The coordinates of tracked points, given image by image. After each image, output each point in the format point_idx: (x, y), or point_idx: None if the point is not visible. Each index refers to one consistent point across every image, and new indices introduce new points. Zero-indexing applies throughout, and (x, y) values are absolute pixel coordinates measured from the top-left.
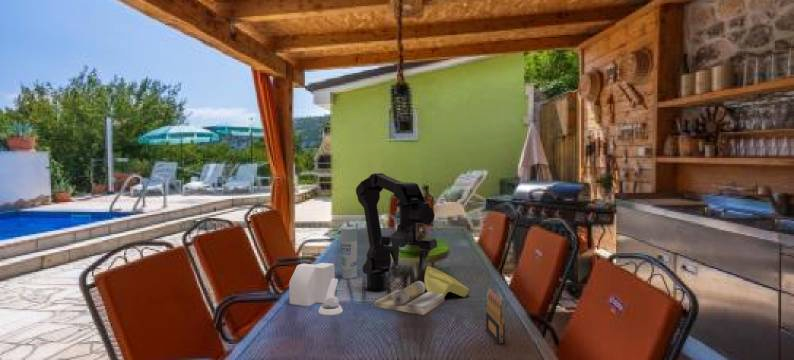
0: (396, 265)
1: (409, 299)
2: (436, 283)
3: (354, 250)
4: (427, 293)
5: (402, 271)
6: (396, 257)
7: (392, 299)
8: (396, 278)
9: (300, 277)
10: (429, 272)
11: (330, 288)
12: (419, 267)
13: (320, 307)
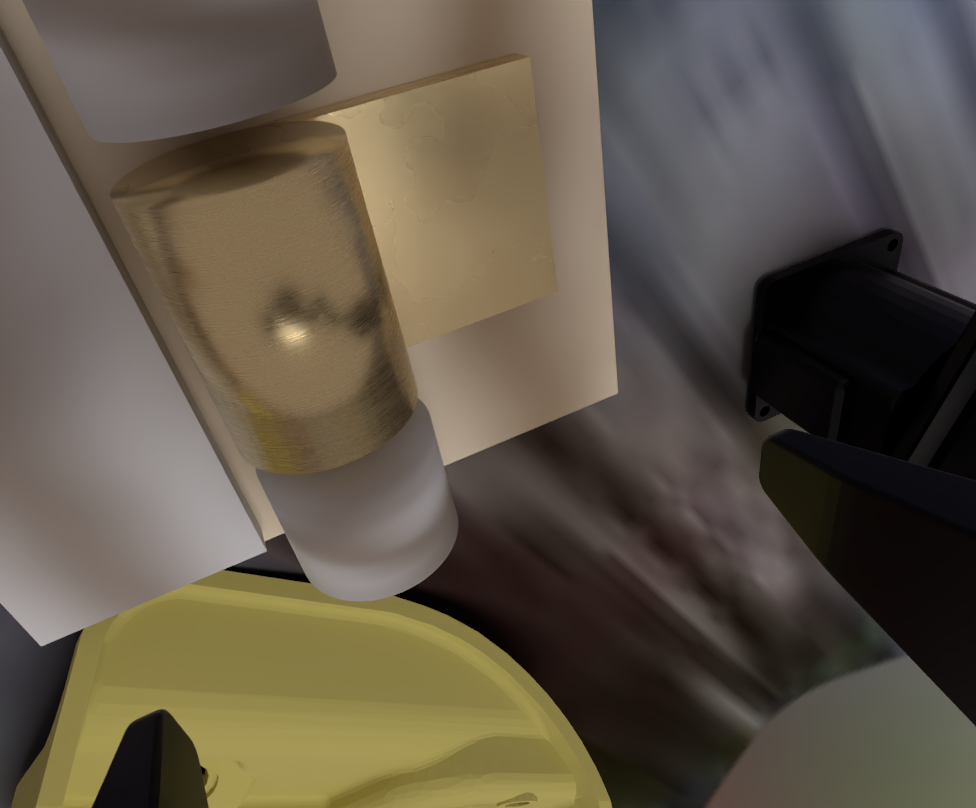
0: (772, 453)
1: (152, 163)
2: (355, 721)
3: None
4: (210, 517)
5: (817, 668)
6: (934, 590)
7: (437, 76)
8: (792, 581)
9: None
10: (550, 779)
11: None
12: (157, 745)
13: None
